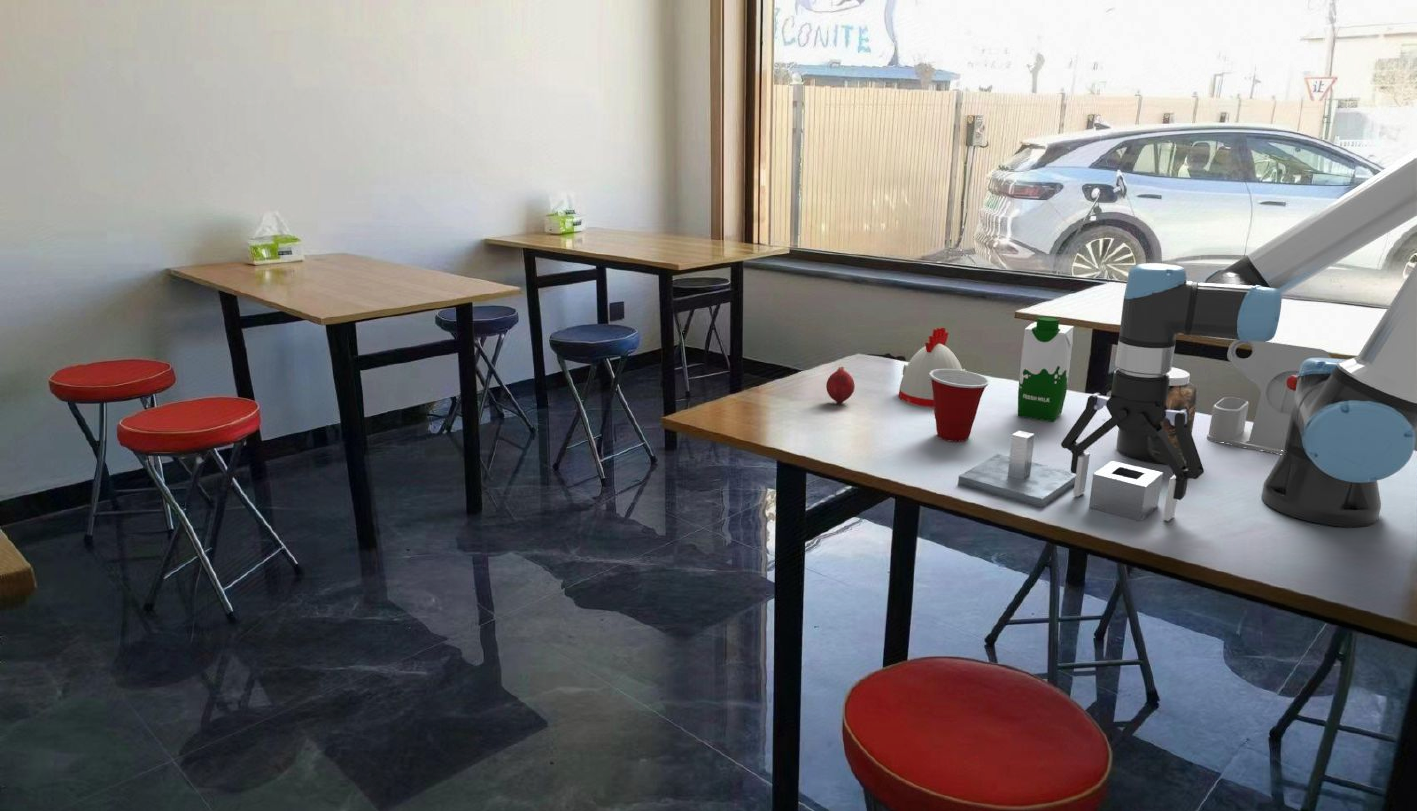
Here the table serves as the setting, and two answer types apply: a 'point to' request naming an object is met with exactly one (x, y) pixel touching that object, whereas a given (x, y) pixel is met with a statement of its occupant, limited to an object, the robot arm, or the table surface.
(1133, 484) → the block
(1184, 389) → the jar
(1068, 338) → the milk carton
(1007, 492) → the stand
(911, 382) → the chicken hat
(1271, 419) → the phone holder
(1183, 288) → the robot arm
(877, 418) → the table surface
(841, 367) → the onion
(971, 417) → the plastic cup
